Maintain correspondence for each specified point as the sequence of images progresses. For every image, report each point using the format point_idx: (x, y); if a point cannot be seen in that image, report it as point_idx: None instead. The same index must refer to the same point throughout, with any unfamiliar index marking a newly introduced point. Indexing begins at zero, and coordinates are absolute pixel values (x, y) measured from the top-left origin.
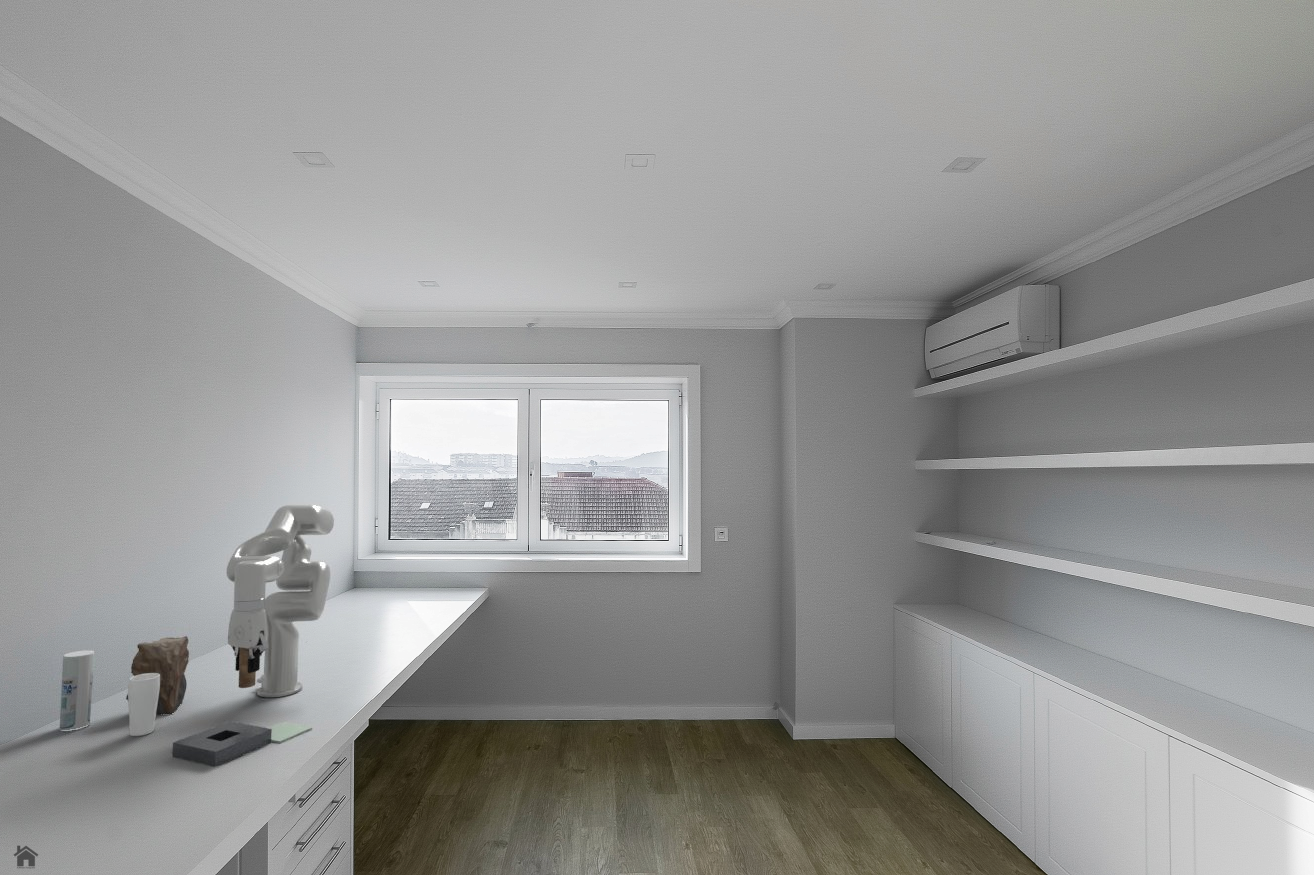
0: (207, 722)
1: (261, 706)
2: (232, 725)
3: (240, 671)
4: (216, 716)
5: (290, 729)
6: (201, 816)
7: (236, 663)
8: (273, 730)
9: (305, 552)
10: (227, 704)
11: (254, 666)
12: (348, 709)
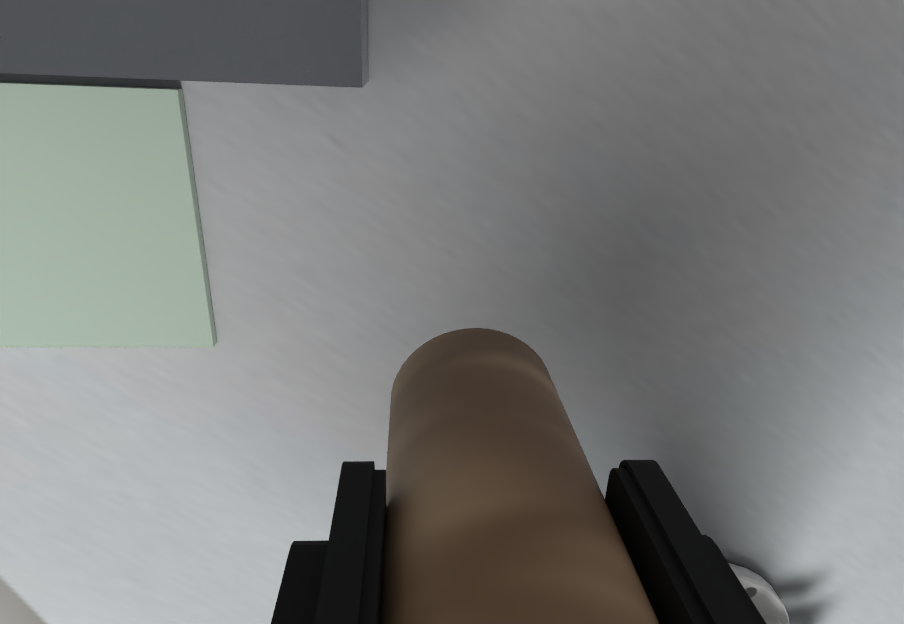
0: (711, 191)
1: (596, 478)
2: (239, 5)
3: (510, 442)
4: (735, 285)
5: (20, 273)
6: None
7: (684, 544)
8: (109, 220)
9: None
10: (816, 434)
11: (288, 584)
12: (84, 605)
